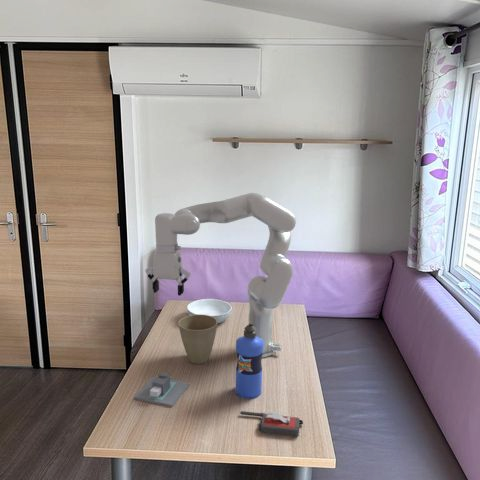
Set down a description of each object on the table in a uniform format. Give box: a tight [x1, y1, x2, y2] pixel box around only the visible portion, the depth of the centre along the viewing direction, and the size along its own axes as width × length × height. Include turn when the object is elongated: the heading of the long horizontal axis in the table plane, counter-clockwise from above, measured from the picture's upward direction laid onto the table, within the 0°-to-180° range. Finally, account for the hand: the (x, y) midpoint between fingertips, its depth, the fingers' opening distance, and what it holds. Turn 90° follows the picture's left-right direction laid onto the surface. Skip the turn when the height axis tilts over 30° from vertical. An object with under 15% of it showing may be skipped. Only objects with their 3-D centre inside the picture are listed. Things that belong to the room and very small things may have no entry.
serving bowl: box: [186, 298, 233, 324], centre depth 218 cm, size 21×21×7 cm
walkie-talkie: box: [239, 410, 304, 438], centre depth 144 cm, size 9×4×20 cm
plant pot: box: [178, 314, 218, 365], centre depth 181 cm, size 15×15×16 cm
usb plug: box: [150, 372, 171, 397], centre depth 158 cm, size 10×4×4 cm, turn 163°
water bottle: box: [235, 323, 264, 400], centre depth 159 cm, size 9×9×25 cm
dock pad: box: [133, 375, 190, 408], centre depth 160 cm, size 14×14×1 cm
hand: (168, 292), depth 170 cm, fingers open, 9 cm apart
